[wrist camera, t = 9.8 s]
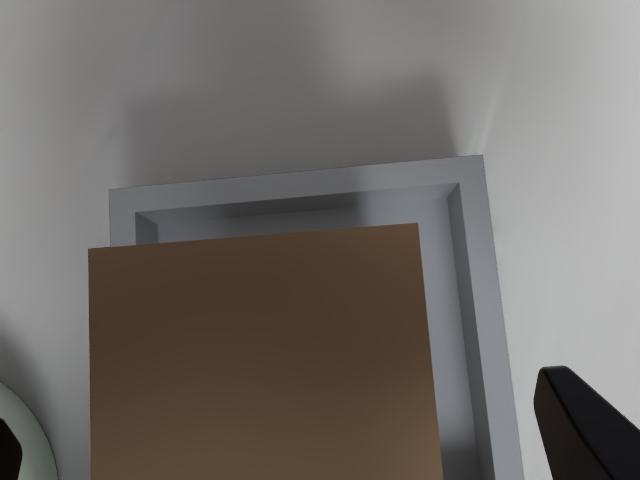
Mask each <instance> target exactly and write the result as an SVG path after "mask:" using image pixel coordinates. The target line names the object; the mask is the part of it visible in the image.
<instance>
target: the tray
mask: <svg viewBox="0 0 640 480" xmlns="http://www.w3.org/2000/svg"><path fill="white" fill-rule="evenodd" d="M109 218H110V247H117V246H130V245H142V244H155V243H167V242H180V241H192V240H205V239H218V238H230V237H243V236H255V235H268V234H280V233H293V232H306V231H318V230H331V229H343V228H356V227H368V226H381V225H393V224H406V223H418V228H419V238H420V248H421V258H422V268H423V278H424V288H425V298H426V308H427V318H428V328H429V338H430V349H431V359H432V369H433V379H434V389H435V399H436V409H437V419H438V429H439V439H440V449H441V459H442V469H443V479H444V480H524V472H523V464H522V456H521V449H520V441H519V433H518V425H517V417H516V410H515V402H514V394H513V386H512V379H511V371H510V363H509V355H508V348H507V340H506V332H505V324H504V316H503V309H502V301H501V293H500V285H499V278H498V270H497V262H496V254H495V246H494V239H493V231H492V223H491V215H490V208H489V200H488V192H487V184H486V177H485V169H484V161H483V155H472V156H461V157H450V158H440V159H429V160H418V161H407V162H397V163H386V164H375V165H364V166H354V167H343V168H332V169H321V170H311V171H300V172H289V173H278V174H268V175H257V176H246V177H235V178H225V179H214V180H203V181H192V182H182V183H171V184H160V185H149V186H139V187H128V188H117V189H109Z"/></svg>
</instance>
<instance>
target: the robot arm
mask: <svg viewBox="0 0 640 480" xmlns="http://www.w3.org/2000/svg"><path fill="white" fill-rule="evenodd" d="M534 410H535V415H536V419H537V422H538V426H539V430H540V433H541V437H542V441H543V444H544V448H545V452H546V455H547V459H548V463H549V466H550V470H551V474H552V477H553V480H640V430H639V429H638V428H637V427H636V426H635V425H634V424H633V423H631V422H630V421H629V420H628V419H627V418H626V417H625V416H623V415H622V414H621V413H620V412H619V411H618V410H617V409H616V408H614V407H613V406H612V405H611V404H610V403H609V402H608V401H606V400H605V399H604V398H603V397H602V396H601V395H600V394H598V393H597V392H596V391H595V390H594V389H593V388H592V387H590V386H589V385H588V384H587V383H586V382H585V381H584V380H582V379H581V378H580V377H579V376H578V375H577V374H576V373H575V372H573V371H572V370H571V369H570V368H568V367H566V366H550V367H543V368H541V369H540V370H539V373H538V378H537V383H536V389H535V394H534ZM22 457H23V452H22V446H21V444H20V442H19V441H18V439H17V438H16V436H15V435H14V433H13V432H12V430H11V429H10V427H9V426H8V424H7V423H6V422H5V420H4V419H2V418H0V480H18V477H19V472H20V468H21V463H22Z"/></svg>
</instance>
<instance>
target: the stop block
mask: <svg viewBox="0 0 640 480" xmlns="http://www.w3.org/2000/svg"><path fill="white" fill-rule="evenodd" d="M88 265H89V342H90V419H91V480H444V479H443V469H442V459H441V449H440V439H439V429H438V419H437V409H436V399H435V389H434V379H433V369H432V359H431V349H430V338H429V328H428V318H427V308H426V298H425V288H424V278H423V268H422V258H421V248H420V238H419V228H418V223H406V224H393V225H381V226H368V227H356V228H343V229H331V230H318V231H306V232H293V233H280V234H268V235H255V236H243V237H230V238H218V239H205V240H192V241H180V242H167V243H155V244H142V245H130V246H117V247H104V248H92V249H88Z"/></svg>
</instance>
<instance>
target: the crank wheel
mask: <svg viewBox="0 0 640 480" xmlns="http://www.w3.org/2000/svg"><path fill="white" fill-rule="evenodd" d="M0 418H2V419H4V420H5V422H6V423H7V424H8V426H9V427H10V429H11V430H12V432H13V433H14V435H15V436H16V438H17V439H18V441H19V442H20V444H21V446H22V452H23V457H22V463H21V468H20V472H19V477H18V480H58V474H57V469H56V465H55V460H54V457H53V454H52V451H51V448H50V445H49V442H48V440H47V438H46V436H45V434H44V432H43V430H42V428H41V426H40V424H39V422H38V421H37V420H36V418H35V417H34V415H33V414H32V412H31V411H30V409H29V408H28V407H27V406H26V405H25V404H24V403H23V401H22V400H21V399H20V398H19V397H18V396H17V395H16V394H15V393H14V392H12V391H11V390H10V389H9V388H8V387H6V386H5V385H4V384H2V383H1V382H0Z"/></svg>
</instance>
